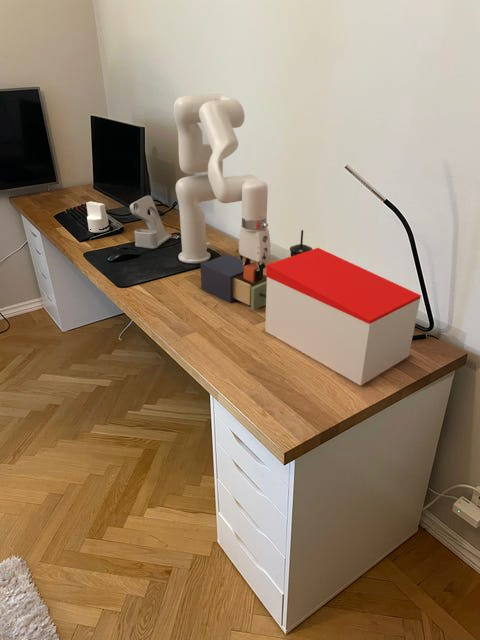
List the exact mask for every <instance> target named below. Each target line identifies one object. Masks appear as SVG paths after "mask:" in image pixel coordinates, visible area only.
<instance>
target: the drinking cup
mask: <svg viewBox="0 0 480 640" xmlns="http://www.w3.org/2000/svg"><path fill="white" fill-rule="evenodd" d="M303 240H304V229H301V231H300V243H297V244H294V245H291V246H290V247H289V252H290V257H292V256H295V255H298V254H301V253H304V252H307V251H310V250H313V249H314V248H313V247H312V246H310V245H307V244H304V243H303Z"/></svg>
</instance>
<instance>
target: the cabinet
mask: <svg viewBox="0 0 480 640" xmlns="http://www.w3.org/2000/svg"><path fill="white" fill-rule="evenodd" d="M243 266H244V265H243V264H242V260H241V258H240V257H237V256H234V255H232V254H229V253H227V254H224V255H222V256H219V257H216V258H213V259H209V260H207V261H205V262H202V263H200V284H201V285H200V286H201V287H200V288H201V290H203V291H205V292H208V293H209V294H212V295H213V296H215V297H218V298H220V299H222V300H224V301H226V302H228V303H230V304H231V303H233V302H235V301H238V300H237V299H235V298H233V297H232V278H235V277H237V276H240V275H242V274H243Z"/></svg>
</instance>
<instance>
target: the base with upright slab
mask: <svg viewBox="0 0 480 640" xmlns="http://www.w3.org/2000/svg"><path fill="white" fill-rule="evenodd" d="M85 204H86V205H85V206H86V210H87V212H86V213H87V216H86V220H87V227H88V232H90V233H94V234H95V233H96V234H97V233H104V232H107V231H109V230H110V225H109V218H108V217H109V216H108V215H107V211H106V210H107V209H106V204H105V203H101V202H97V201H87V202H86V203H85ZM108 225H109V227H108V228H107V229H104V230H99V229H103V228H105V227H107V226H108ZM90 229H91V230H90Z"/></svg>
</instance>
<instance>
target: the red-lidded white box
mask: <svg viewBox="0 0 480 640" xmlns="http://www.w3.org/2000/svg"><path fill="white" fill-rule="evenodd" d="M312 249H313V250H310V251H307V252H304V253H301V254H298V255H295V256H292V257H291V256H289V257H285V258H282V259H280V260H276V261H273V262H271V263H270V264H267V266H266V267H265V268H266V269H265V270H266V272H265V274H266V277H267V291H266V305H265V324H264V325H265V327H264V332H266V333H268V334H269V335H271V336H273V337H275V338H277V339H279V340H280V341H282V342H284V343H285V344H287V345H289V346H291V347H292V348H293V349H296V350H298V351H299V352H301V353H303V354H304V355H306V356H307V357H310V358H312V359H313V360H315V361H317V362H319V363H320V364H322V365H324V366H326V367H327V368H329V369H331V370H333V371H334V372H336V373H338V374H339V375H341V376H343V377H345V378H346V379H348V380H349V381H352V382H353V383H355V384H357V385H359V386H360V387H361V386H363V385H364V384H366V383H367V382H369V381H370V380H372V379H374V378H376V377H377V376H379V375H381V374H382V373H383V372H385V371H387V370H388V369H391V368H392V367H394V366H396V365H397V364H398V363H400V362H402V361H404V360H405V359H406V358H408V357H409V356H410V352H411V347H412V341H413V337H414V332H415V326H416V321H417V317H418V311H419V306H420V302H421V299H422V297H421V296H422V295H421V294H419V293H417V292H415V291H412V290H411V289H409V288H407V287H404V286H402V285H400V284H398V283H396V282H393V281H392V280H388V279H386V278H385V277H382V276H380V275H378V274H376V273H374V272H372V271H370V270H367V269H365V268H363V267H361V266H359V265H357V264H354V263H352V262H350V261H348V260H346V259H343V258H341V257H339V256H337V255H335V254H332V253H331V252H329V251H326V250H324V249H322V248H320V247H316V248H312Z"/></svg>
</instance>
